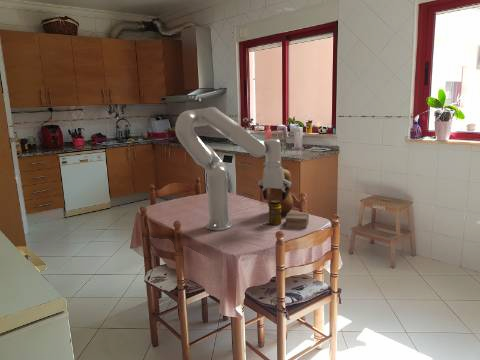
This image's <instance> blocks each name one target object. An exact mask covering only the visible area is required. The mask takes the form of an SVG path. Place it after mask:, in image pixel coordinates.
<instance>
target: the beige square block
mask: <svg viewBox="0 0 480 360" xmlns="http://www.w3.org/2000/svg"><path fill="white" fill-rule="evenodd" d="M309 214H310V213H309V212H304V211H303V212H302V211H301V212H300V211H299V212H298V211H290V212H289V213H287V214H286V215H285V227H286V228H294V227H295V228H296V229H298V228H299V229H308V228H307V227H308V224H309V222H310V221H309V219H310V215H309Z"/></svg>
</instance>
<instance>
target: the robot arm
mask: <svg viewBox="0 0 480 360" xmlns="http://www.w3.org/2000/svg"><path fill="white" fill-rule="evenodd" d="M203 126H204V127H205V126H209V127H211V128H212V129H213V130H215V131H217V132H218V133H219V134H221V135H222V136H224V137H225V138H226V139H228V140H229V141H230V142H232V143H234V144H235V145H237V146H239V147H240V148H241V149H243V150H244V151H245V152H247V153H249V154H250V156H252V157H254V158H261V157H264V156H265V157H264V158H265V161H263V163H262V164H263V165H264V167H263V173H262V179H260V180H259V181H257V185H258V187H259V188H260V189H261V191H262V196H263V199H264V200H266V199H268V198H269V195H268V189H270V188H275V189H280V188H281V189H282V191H283V192H282V200H285V199H286V197H287V195H286V191H287V190H288V189H289V188H290V186H291V187H292V181H291V182H289V181H287V180H285V177H284V171H283V169H284V167H283V166H282V147H281V140H280V139H278V138H269V139H257V138H256V137H255V136H254V135H252V134H251V133H249V132H248V131H246V130H245V128H243V127H242V125H241V124H239V123H238V122H236V121H235V120H233V119H232V118H230V117H229V116H228V115H227V114H225V113H223V112H222V111H220V109H218V108H217V107H215V106H209V107H206V108H205V107H204V108H198V109H191V110H189V109H188V110H185V111H182V112H181V113H180V114H179V115H178V117H177V119H176V122H175V128H174V129H175V130H174V131H175V135H176V138H177V140H178V141H179V142H180V144H181V145H182V147H183V148H184V149H185V151H186V152H187V154H189V155H190V156H191V158H192V160H193V161H194V162H195V163H196V165H199V166H201V167H202V168H203V169H204V170H205V171H206V172H207V173H206V181H207V195H208V196H207V197H208V212H209V213H208V215H209V217H208V218H209V219H208V220H209V221H208V222H207V224H206V225H205V227H206V229H209V230H212V231H226V230H229V229H230V228H232V227H233V223H232V222H231V221H229V219H230V218H229V215H230V213H229V196H228V189H229V188H228V171H227V170H228V169H227V165H226V164H225V163H224V161H223V160H222V159H221V158H220V157H219V155H217V153H216V152H215V150H214V149H213V148H212V147H211V146H210V145H208V144H205V143H204V142H203V140H202V139H201V138H200V137H199V135H197V133H196V132H195V128H196V127H197V128H198V127H203ZM285 183H286V184H287V187H285ZM290 189H291V188H290Z"/></svg>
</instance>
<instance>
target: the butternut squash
mask: <svg viewBox="0 0 480 360" xmlns="http://www.w3.org/2000/svg"><path fill="white" fill-rule="evenodd" d="M283 171H284V177H285V180H287V181H289V182H291V183H292V175H291V172H290V171H289V170H288V169H285V168H283ZM285 187H287V184H286V183H285ZM291 188H292V185H291V186H290V188H289V189H288V190H287V191H286V195H287V197H286V199H285V200H282V192H283V191H282V189H281V188H280V189H275V188H269V195H268V197H267V206H268V207H269V206H270V201H271V200H279V201H280V206H281V216H284V215H287V214H288V213H289V212H291V210H292V209H293V207H294V200H293V196H292V193H291Z"/></svg>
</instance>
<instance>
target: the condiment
mask: <svg viewBox="0 0 480 360" xmlns="http://www.w3.org/2000/svg"><path fill="white" fill-rule="evenodd" d="M284 224H285V225H286V222H282V215H281V206H280V201H279V200H271V201H270V206H268V222H266V223H263V225H264V226H266V227H271V228H277V227H278V226H282V225H284Z"/></svg>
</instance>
